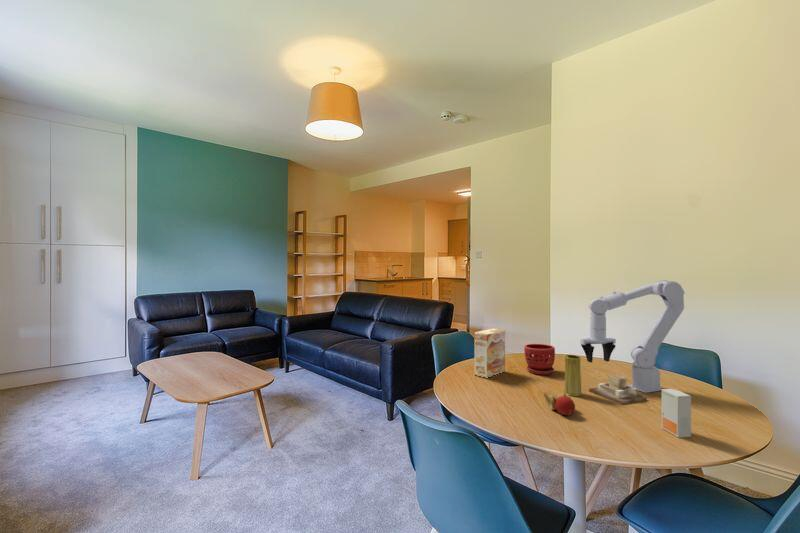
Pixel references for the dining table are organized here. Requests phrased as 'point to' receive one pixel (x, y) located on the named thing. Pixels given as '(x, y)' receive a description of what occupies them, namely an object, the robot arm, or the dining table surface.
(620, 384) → the birch peg
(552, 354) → the plant pot
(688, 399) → the skincare box
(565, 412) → the kendama
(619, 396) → the socket board
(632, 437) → the dining table surface
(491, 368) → the coffeecake box
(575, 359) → the vase
